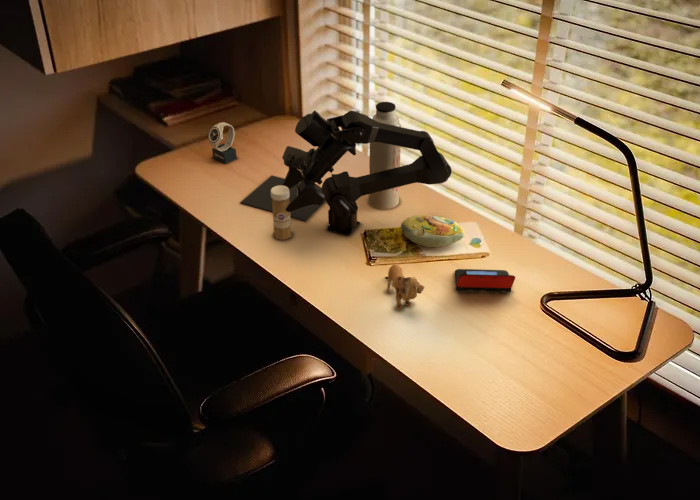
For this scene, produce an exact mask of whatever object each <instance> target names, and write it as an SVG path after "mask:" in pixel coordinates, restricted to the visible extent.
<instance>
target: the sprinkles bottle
mask: <svg viewBox="0 0 700 500" xmlns="http://www.w3.org/2000/svg"><path fill="white" fill-rule="evenodd" d="M289 196H290V191H289V188H288V187H286V186H283V185H279V186H275V187H273V188H272V189H271V198H272V210H273V212H272V224H273V236H274V238H276V239H277V240H281V241H282V240H288V239H290V238H291V237H292V233H293V232H292V219H291V217H290V212H287V211H286V210H285V209H286V207H287V206H288V204H289Z"/></svg>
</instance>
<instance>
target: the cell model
mask: <svg viewBox="0 0 700 500" xmlns="http://www.w3.org/2000/svg"><path fill="white" fill-rule="evenodd" d="M400 226H401V228H400V229H401V232H402V233H403V235H404V236H405V237H406V238H407V239H408V240H409V241H410V242H412V243H414V244H416V245H420V246H422V247H426V248H427V247H428V248H441V247H442V248H443V247H446V246H449V245H451V244H453V243H456V242H458V241H460V240H462V239H463V238H464V237H465V231H464V229H463V227H462V226H461V225H460V224H458V223H457V222H456V221H454V220H452V219H449V218H447V217H443V216H438V215H430V214H421V215H412V216H409V217H407V218H406V219H404V220H403V221H402V222H401V225H400Z"/></svg>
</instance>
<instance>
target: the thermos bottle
mask: <svg viewBox="0 0 700 500" xmlns="http://www.w3.org/2000/svg"><path fill="white" fill-rule="evenodd" d="M372 119H373V120H375V121H377V122H379V123H384V124H388V125H393V126H398V127H402V124H401V123H400V117H399V115H398V114H396V104H395V103H393V102H392V101H391V102H390V101H381V102H380V101H379V102H378V103H376V105H375V114H374V115H373V116H372ZM401 149H402V147H400V146H395V145H390V144H385V143H381V142H371V143H369V162H368V163H369V165H368V166H369V174H372V173H376V172H380V171H384V170H388V169H392V168H397V167H401V153H402V152H401V151H402V150H401ZM399 202H400V187H396V188H392V189H388V190H384V191H380V192H376V193H372V194H368V203H369V204H370V206H372V207H374V208H376V209H380V210H390V209H393V208H395V207H397V206H398V204H399Z"/></svg>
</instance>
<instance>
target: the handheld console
mask: <svg viewBox="0 0 700 500" xmlns="http://www.w3.org/2000/svg"><path fill="white" fill-rule="evenodd" d="M515 280H516V276H515V275H511V274H509V272H508V271H507V270H505V269H478V268H477V269H475V268H474V269H473V268H457V269H455V270H454V284H455V291H457V292H489V293H511V292H512V287H513V285H514V283H515Z"/></svg>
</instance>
